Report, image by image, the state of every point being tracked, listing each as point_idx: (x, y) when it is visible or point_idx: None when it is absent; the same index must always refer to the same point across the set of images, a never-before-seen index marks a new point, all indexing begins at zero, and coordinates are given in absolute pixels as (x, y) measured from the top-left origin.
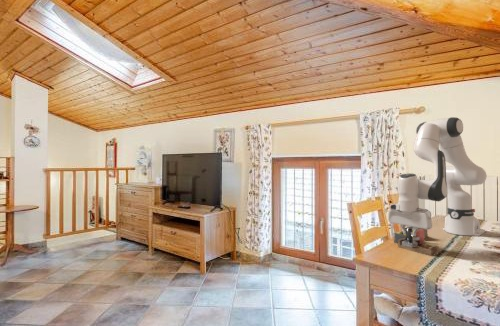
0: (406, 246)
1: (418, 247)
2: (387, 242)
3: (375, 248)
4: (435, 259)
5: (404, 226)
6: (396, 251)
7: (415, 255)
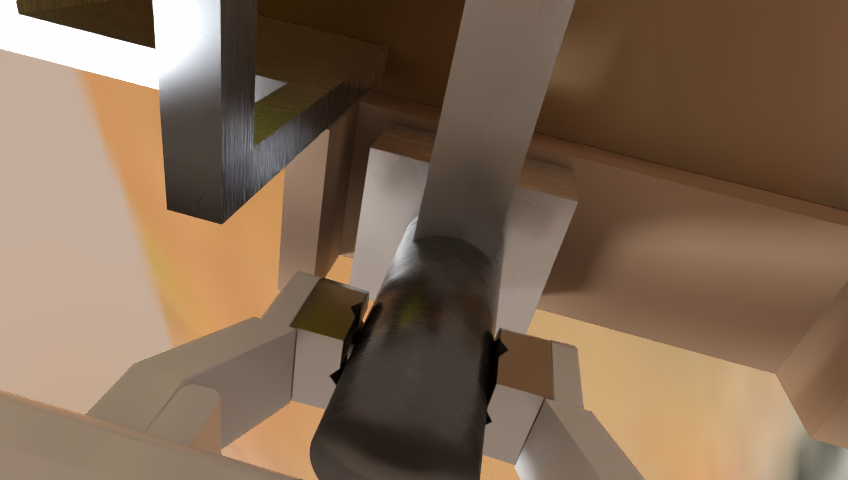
0: None
1: (598, 212)
2: (96, 88)
3: None
4: None
5: (217, 446)
6: None
7: (607, 422)
